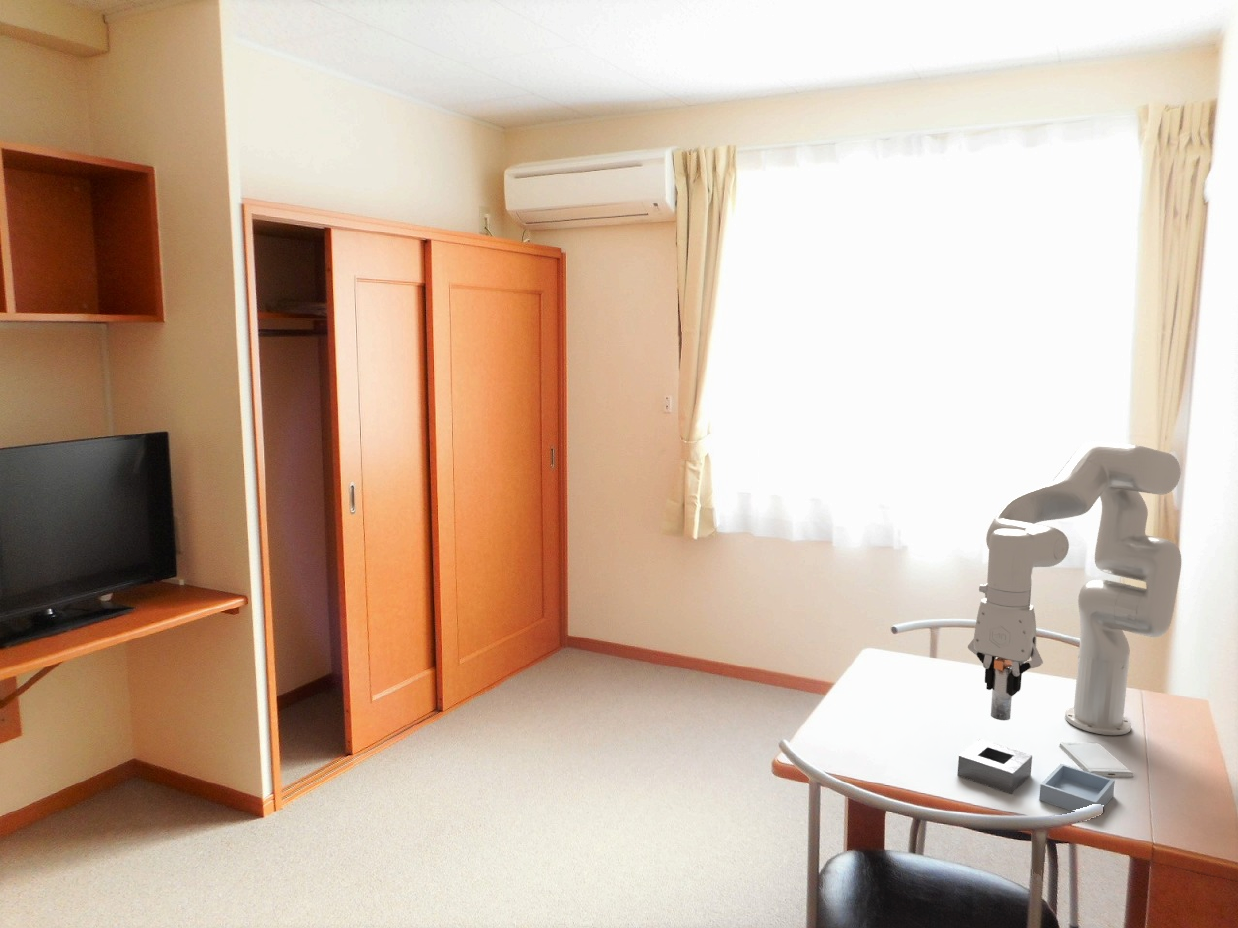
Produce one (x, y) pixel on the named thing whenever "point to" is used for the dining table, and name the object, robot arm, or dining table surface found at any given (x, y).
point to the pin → (1001, 689)
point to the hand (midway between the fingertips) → (1002, 689)
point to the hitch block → (995, 766)
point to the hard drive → (1095, 759)
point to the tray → (1075, 788)
